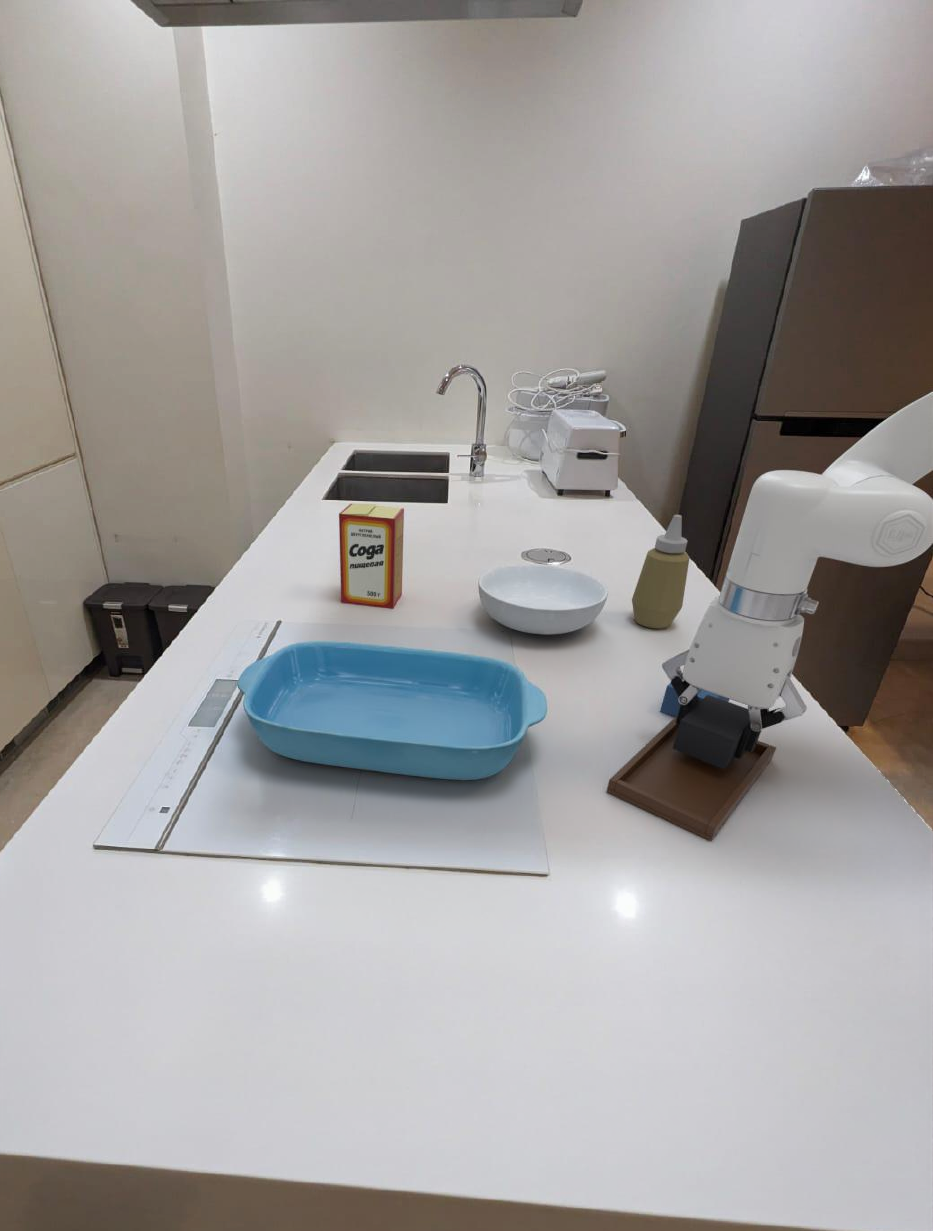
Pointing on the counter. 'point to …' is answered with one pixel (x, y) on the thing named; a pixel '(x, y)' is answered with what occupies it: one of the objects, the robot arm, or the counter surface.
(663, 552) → the squeeze bottle
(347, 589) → the baking soda box
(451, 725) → the casserole dish
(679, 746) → the black block
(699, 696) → the blue rectangular block
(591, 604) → the serving bowl
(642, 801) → the brown wooden tray
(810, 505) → the robot arm
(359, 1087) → the counter surface
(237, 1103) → the counter surface
